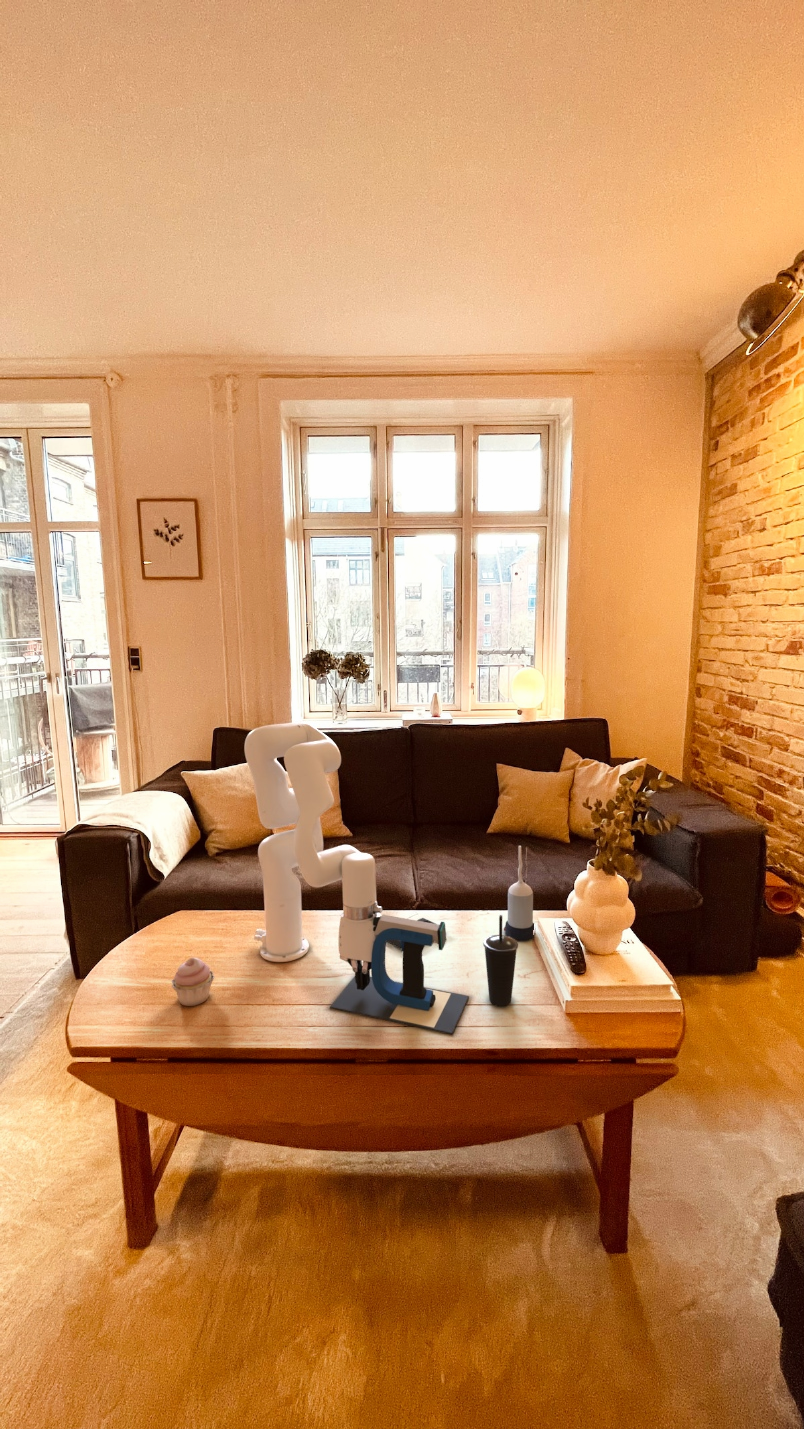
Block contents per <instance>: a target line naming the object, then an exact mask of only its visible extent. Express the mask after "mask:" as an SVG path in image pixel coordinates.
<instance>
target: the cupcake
mask: <svg viewBox="0 0 804 1429" xmlns="http://www.w3.org/2000/svg"><path fill="white" fill-rule="evenodd" d="M173 977H174V978H173V979H171V983H172V985H171V987H172V989H173V990H174V991H175V993H176V995H177V998H178V1002H179V1003H180V1004H181V1005H182V1006H185V1007H193V1006H199V1005H201V1004H204V1002H206V1000H208V998H209V996H210V991H211V987H212V983H213V981H214V979H215V976H214V971H213V970H210V966H209V965H208V964H207V963H206V962H204V961H203V960H201V959H200V958H198V957H190V958H189V959H187V961H185V962H183V963H181V964H180V965H179V966H178V968H177V970H176V973H175V975H174V976H173Z"/></svg>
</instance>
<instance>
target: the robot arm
mask: <svg viewBox="0 0 804 1429" xmlns="http://www.w3.org/2000/svg"><path fill="white" fill-rule="evenodd" d="M244 756H245V760H246V763H247V765H248V767H249V770H250V773H251V776H252V780H253V786H254V794H255V798H256V799H255V801H256V806H257V813H258V818H259V821H260V824H261V825H262V827H263V828H265V829H267V830H274V829H281V828H285V827H289V826H292V825H295V827H294V829H290V830H285V831H281V832H277V833H274V834H272V835H269V836H266V837H265V838H264V839H263V840H262V841H261V842H260V843H259V846H258V849H257V856H258V861H259V865H260V869H261V874H262V884H263V886H262V887H263V903H264V928H265V929H260V928H256V930H255V932H254V938H253V940H254V941H257V942H261V943H262V944H261V946H260V948H259V953H260V956H261V957H262V959H264V960H266V961H268V962H273V963H285V962H291V961H295V960H298V959H300V958H302V957H304V956H305V955H306V954H307V953H308V951H309V950H310V944H309V941H308V940H307V939H306V938H305V937H303V912H302V911H303V906H302V886H301V881H300V879H299V877H297V875H296V874H295V873H294V872H293V869H294V868H297V867H298V868H299V871H300V873H301V875H302V878H303V879H304V881H305V883H306V884H308V885H309V886H310V887H312V888H322V887H325V886H329V885H331V884H333V883H336V882H339V881H341V884H342V887H341V888H342V909H343V912H342V913H341V914H340V920H339V926H338V939H337V940H338V943H337V944H338V953H339V959H340V960H341V961H344V962H346V963H348V964H349V966H350V967H351V969H352V972H353V973H354V976H355V983H357V989H358V990H359V989H361V990H364V989H365V988H366V987H367V985H369V983H370V977H371V958H372V949H373V944H374V941H375V939H376V937H377V935H374V933H375V931H373V928H374V927H375V926H374V925H373V919H374V917H381V916H382V915H381V914H382V913H383V907H382V906H379V905H378V901H377V878H376V876H377V875H376V860H375V857H374V856H373V855H371V854H370V853H367V852H362V851H359V850H358V849H357V848H355V847H354V846H352V845H350V844H342V845H341V844H340V845H338V846H335V847H334V846H333V847H330V848H328V849H325V850H324V837H323V828H322V822H321V816H322V815H323V814H325V812H327V811H328V810H329V809H331V808H332V807H333V805H334V803H335V797H334V794H333V791H332V789H331V786H330V784H329V780H328V777H327V774H330V773H334V772H336V771H337V770H338V769H339V768H340V766H341V764H342V755H341V752H340V750H339V747H338V746H337V744H336V743H335V742H334V741H333V739H331V738H330V737H329V736H327V735H326V734H325V733H323V731H320V730H319V729H317V728H316V727H315V726H313V725H312V724H310V723H308V722H306V721H294V722H286V723H276V724H275V723H274V724H268V725H267V724H266V725H263V726H258V727H255V728H254V729H253V730H251V731H250V732H249V733H247V736H246V738H245V740H244ZM277 758H283V761H284V766H285V769H286V770H285V769H284V767H283V765H282V764H281V763H280V762H279V761H278V760H277ZM288 778H289V781H288ZM288 782H290V784H291V787H290V786H289V783H288ZM386 950H387V949H386ZM386 950H385V953H386V952H387V951H386ZM384 963H385V964H386V960H385V961H384ZM384 963H383V964H384Z"/></svg>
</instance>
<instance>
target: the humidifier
mask: <svg viewBox="0 0 804 1429" xmlns="http://www.w3.org/2000/svg"><path fill="white" fill-rule="evenodd" d="M527 850H528V846H526V847H525V859H527V857H528V856H527V852H528V851H527ZM522 859H523V857H522V845H518V868H517V876H518V880H517V882H515V883H513V884H511V885H510V886H509V888H508V890H507V920H506V921H505V925H504V928H503V931H504V934H505V936H509V937H511V938H513V939H515V940H516V941H517V942H528V941H532V940H534V939H535V937H534V935H533V930H534V924H535V922H534V892H533V890H532V888H531V886H530V885H528V884H527V881H525V882H524V880H523V877H522V869H523V860H522ZM525 864H526V865H528V863H527V862H525ZM527 872H528V868H526V870H525V877H528V876H527Z"/></svg>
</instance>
